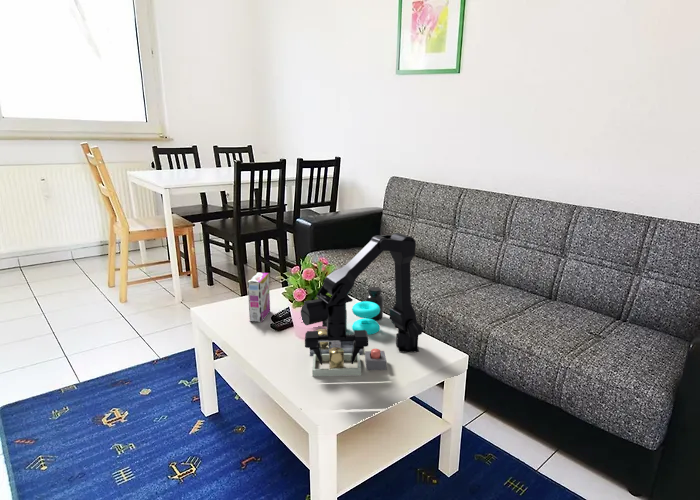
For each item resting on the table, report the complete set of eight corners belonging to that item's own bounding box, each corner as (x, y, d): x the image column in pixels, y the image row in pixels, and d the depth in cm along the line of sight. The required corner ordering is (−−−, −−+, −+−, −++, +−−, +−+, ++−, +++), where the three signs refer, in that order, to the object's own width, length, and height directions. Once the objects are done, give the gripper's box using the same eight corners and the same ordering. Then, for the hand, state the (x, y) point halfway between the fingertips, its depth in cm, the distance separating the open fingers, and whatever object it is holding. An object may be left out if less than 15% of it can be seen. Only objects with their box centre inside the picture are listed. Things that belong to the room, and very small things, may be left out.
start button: (379, 357, 139) (379, 348, 138) (380, 361, 136) (380, 353, 135) (370, 357, 139) (370, 348, 138) (371, 362, 136) (371, 353, 135)
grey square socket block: (383, 362, 141) (384, 350, 140) (386, 372, 136) (386, 360, 134) (365, 362, 141) (365, 351, 140) (366, 373, 135) (366, 361, 134)
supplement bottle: (377, 323, 168) (378, 293, 165) (361, 319, 172) (362, 289, 169) (386, 316, 174) (386, 287, 171) (370, 312, 178) (371, 284, 174)
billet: (343, 364, 139) (343, 347, 137) (344, 372, 135) (344, 354, 133) (329, 364, 139) (329, 347, 137) (329, 372, 135) (329, 354, 133)
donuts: (383, 302, 162) (375, 313, 153) (383, 327, 165) (374, 339, 156) (357, 298, 166) (348, 308, 157) (357, 323, 168) (348, 334, 160)
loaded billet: (329, 344, 150) (328, 328, 148) (329, 351, 146) (328, 334, 144) (316, 345, 150) (315, 328, 148) (315, 351, 146) (315, 335, 144)
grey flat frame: (360, 342, 154) (360, 336, 153) (362, 357, 144) (362, 350, 143) (311, 343, 153) (310, 337, 152) (309, 358, 143) (309, 351, 143)
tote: (359, 361, 142) (359, 353, 141) (361, 378, 133) (361, 369, 132) (313, 362, 141) (313, 354, 140) (312, 379, 132) (312, 370, 131)
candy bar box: (262, 323, 168) (259, 282, 164) (249, 322, 169) (246, 281, 164) (271, 311, 179) (269, 272, 174) (259, 310, 180) (256, 271, 175)
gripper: (365, 305, 140) (365, 350, 144) (306, 306, 139) (307, 351, 144) (368, 320, 129) (368, 368, 134) (304, 322, 129) (305, 370, 133)
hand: (336, 363), depth 136 cm, fingers open, 9 cm apart
